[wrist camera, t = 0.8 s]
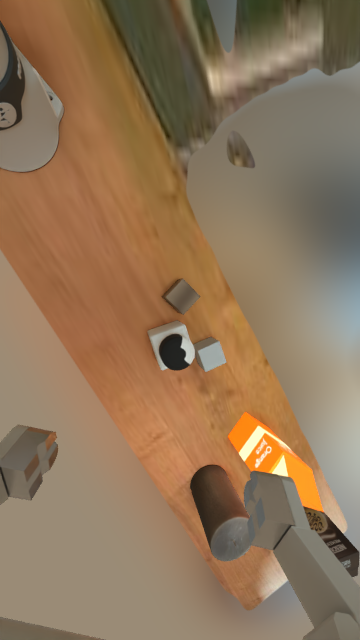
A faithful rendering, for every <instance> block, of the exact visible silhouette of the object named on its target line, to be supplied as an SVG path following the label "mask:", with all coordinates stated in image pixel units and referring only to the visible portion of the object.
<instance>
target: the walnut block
mask: <svg viewBox="0 0 360 640" xmlns="http://www.w3.org/2000/svg"><path fill="white" fill-rule="evenodd" d="M162 297H163V298H164V299H165V300H166V301H167V302H168V303H169V304H170V305H171V306H172V307H173V308H174V309H175V310H176V311H177V312H178V313H181V314H183V315H184V314H185V313H186V311H187V310H188V309H189V308H190V307H191V306H192V305H193V304H194V303H195V302H196V301H197V300H198V299H199V297H200V296H199V295H198V293H197V292H196V291H195V290H194V289H193V288H192V287H191V286H190V285H189V284H188V283H187V282H186V281H185V280H184V279H179V280H177V281H176V282H175V283H174V284H173V285H172V286H171V287H170V288H169V290H168V291H167V292H166V293H165V294H164V295H163V296H162Z"/></svg>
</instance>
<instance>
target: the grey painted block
mask: <svg viewBox="0 0 360 640" xmlns="http://www.w3.org/2000/svg"><path fill="white" fill-rule="evenodd" d="M193 346H194V349H195V356H196V359H197V362H198V364H199V366H200V367H201V368H202V369H203V370H204V371H205V372H207V371H209V370H211V369H213V368H215V367H218V366H220V365H222V364H224V363H226V359H225V356H224V354H223V351H222V348H221V345H220V342H219V341H218V340H216V339H214V338H212V337H209V338H207V339H205V340H202V341H200V342H198V343H196V344H193Z"/></svg>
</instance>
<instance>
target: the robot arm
mask: <svg viewBox="0 0 360 640" xmlns="http://www.w3.org/2000/svg"><path fill="white" fill-rule="evenodd" d="M50 99H53V100H52V101H50ZM63 113H64V107H63V104H62V102H61V101H60V99H59V98H58V97H57V95H56V94H55V93H54V92H53V91H52V89H51V88H50V87H49V86H48V85H47V83H46V82H45V81H44V80H43V78H42V77H41V76H40V75H39V74H38V72H37V71H36V69H34V67H33V66H32V65H31V64H30V63H29V61H28V60H27V59H26V58H25V57H24V55H23V54H22V53H21V52H20V50H19V49H18V48H17V47H16V46H15V44H14V43H13V42H12V40H11V38H10V37H9V35H8V33H7V31H6V29H5V28H4V26H3V24H2V23H1V21H0V167H1V168H3V169H6V170H10V171H16V172H27V171H32V170H35V169H38V168H40V167H42V166H43V165H45V164H46V163H47V162H48V161H49V160H50V159H51V158H52V157H53V155H54V153H55V151H56V149H57V145H58V139H59V122H60V120H61V118H62V116H63ZM56 438H57V436H56V432H53V431H47V430H43V429H38V428H33V427H28V426H23V425H17V426H16V427H14V428H13V429H12V430H11V431H10V432H9V433H8V434H7V436H6V437H5V438H4V439H3V440H2V441H1V442H0V505H1V504H2V503H3V502H5V501H6V500H7V499H8V497H13V498H19V499H25V500H32V498H33V496H34V495H35V493H36V492H37V490H38V488H39V487H40V485H41V483H42V475H43V474H44V473H46V472H47V471H49V470H50V468H51V467H52V465H53V463H54V461H55V459H56V456H57V453H58V445H57V444H56V442H55V440H56ZM250 478H251V480H249V481H247V483H246V485H245V490H244V503H245V509H246V511H247V512H248V514H249V515H250V518H249V520H248V522H247V525H248V532H249V539H250V545H252V546H257V547H261V548H265V549H269V550H273V553H274V554H275V556H276V558H277V560H278V562H279V564H280V565H281V567H282V569H283V571H284V573H285V575H286V576H287V578H288V580H289V582H290V584H291V586H292V587H293V589H294V591H295V593H296V595H297V597H298V598H299V600H300V602H301V604H302V606H303V608H304V609H305V611H306V613H307V615H308V617H309V619H310V620H311V622H312V624H313V626H314V629H313V630H312V631H311V632H309V633H308V634H307V635H305V636H304V638H303V640H360V587H359V585H358V584H357V583H356V582H355V580H354V579H353V578H352V577H351V575H350V574H349V573H348V572H347V570H346V569H345V568H344V566H343V565H342V564H341V563H340V561H339V560H338V559H337V558H336V556H335V555H334V554H333V553H332V551H331V550H330V549H329V548H328V546H327V545H326V544H325V542H324V541H323V540H322V539H321V537H320V536H319V535H318V534H317V532H316V531H315V530H311V528H310V525H309V522H308V520H307V517H306V514H305V511H304V508H303V505H302V502H301V499H300V496H299V493H298V490H297V487H296V484H295V482H294V480H293V479H292V478H291V477H287V476H282V475H278V474H273V473H267V472H261V471H255V470H253V471H252V472H251V474H250ZM0 640H104V639H100V638H95V637H90V636H86V635H81V634H76V633H72V632H67V631H62V630H58V629H54V628H49V627H44V626H40V625H35V624H30V623H25V622H21V621H17V620H12V619H8V618H3V617H0Z"/></svg>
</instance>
